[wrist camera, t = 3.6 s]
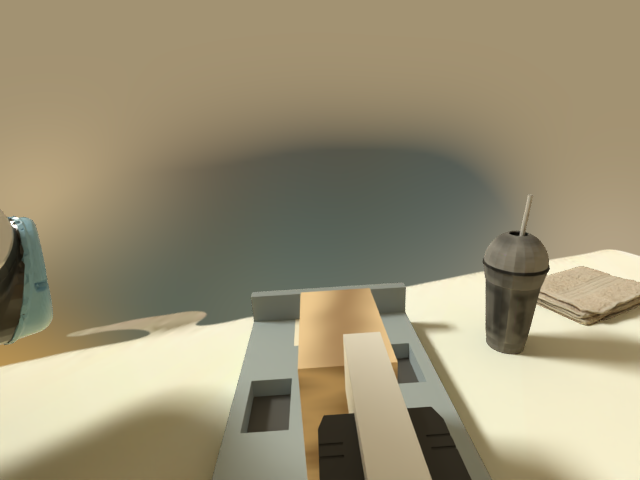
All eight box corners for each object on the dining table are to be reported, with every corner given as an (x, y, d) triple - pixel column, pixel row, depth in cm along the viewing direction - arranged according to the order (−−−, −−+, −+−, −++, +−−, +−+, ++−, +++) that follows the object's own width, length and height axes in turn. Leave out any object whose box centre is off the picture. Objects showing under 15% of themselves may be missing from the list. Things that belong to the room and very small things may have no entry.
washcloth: (513, 298, 60) (515, 281, 59) (578, 274, 67) (581, 259, 66) (589, 332, 49) (594, 313, 48) (657, 300, 56) (662, 283, 55)
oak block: (311, 520, 25) (297, 369, 21) (310, 411, 35) (300, 292, 30) (394, 514, 25) (397, 362, 21) (370, 407, 35) (369, 288, 31)
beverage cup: (463, 337, 49) (475, 195, 43) (500, 323, 52) (517, 187, 45) (508, 367, 43) (531, 206, 36) (549, 350, 45) (576, 196, 39)
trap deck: (191, 605, 23) (172, 537, 21) (257, 330, 53) (252, 292, 51) (525, 579, 23) (539, 510, 21) (402, 321, 54) (402, 282, 52)
